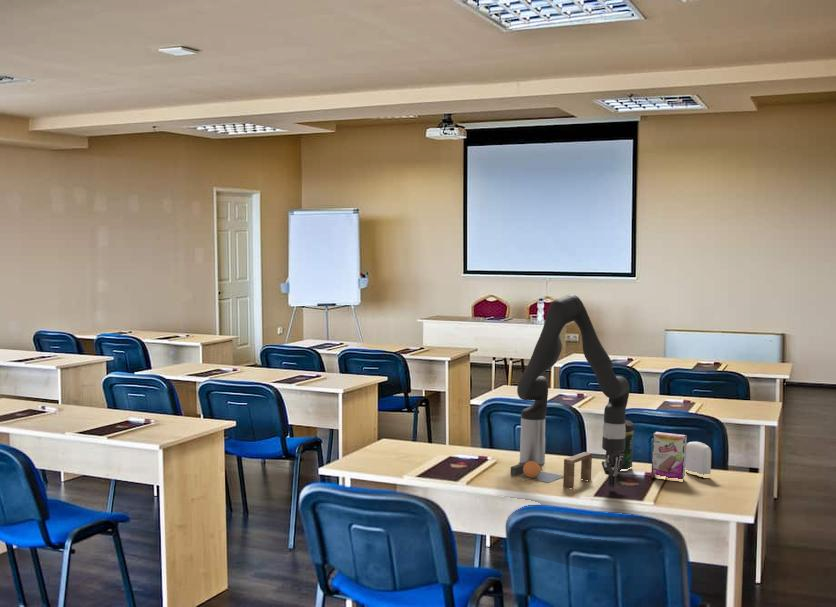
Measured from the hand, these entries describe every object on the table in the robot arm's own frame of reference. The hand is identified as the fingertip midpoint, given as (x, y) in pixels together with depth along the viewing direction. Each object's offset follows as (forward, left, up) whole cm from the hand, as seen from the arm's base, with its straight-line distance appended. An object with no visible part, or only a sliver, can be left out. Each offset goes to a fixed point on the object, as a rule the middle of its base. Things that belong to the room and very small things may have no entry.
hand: (612, 486), depth 291 cm
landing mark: (0, -27, -2) cm, 27 cm away
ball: (+4, -29, +2) cm, 29 cm away
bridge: (0, -13, -2) cm, 13 cm away
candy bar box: (-28, +9, -2) cm, 29 cm away
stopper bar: (0, -35, -2) cm, 36 cm away
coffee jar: (-30, -10, -2) cm, 32 cm away
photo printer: (-41, +15, -2) cm, 44 cm away
